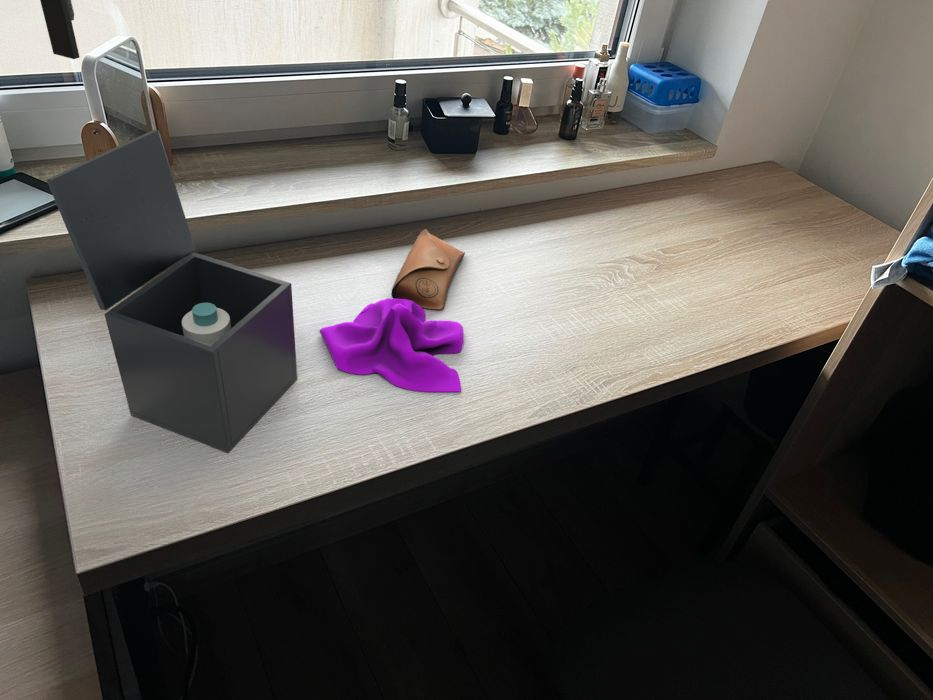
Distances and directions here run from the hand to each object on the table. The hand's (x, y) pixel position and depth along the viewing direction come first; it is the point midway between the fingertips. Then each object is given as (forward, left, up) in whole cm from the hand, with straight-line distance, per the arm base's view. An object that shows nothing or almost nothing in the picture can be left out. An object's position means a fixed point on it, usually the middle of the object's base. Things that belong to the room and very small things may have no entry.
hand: (21, 69), depth 71 cm
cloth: (+20, -34, -36) cm, 53 cm away
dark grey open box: (0, -18, -36) cm, 40 cm away
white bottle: (0, -18, -35) cm, 39 cm away
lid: (0, -10, -13) cm, 17 cm away
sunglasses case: (+38, -30, -36) cm, 60 cm away
